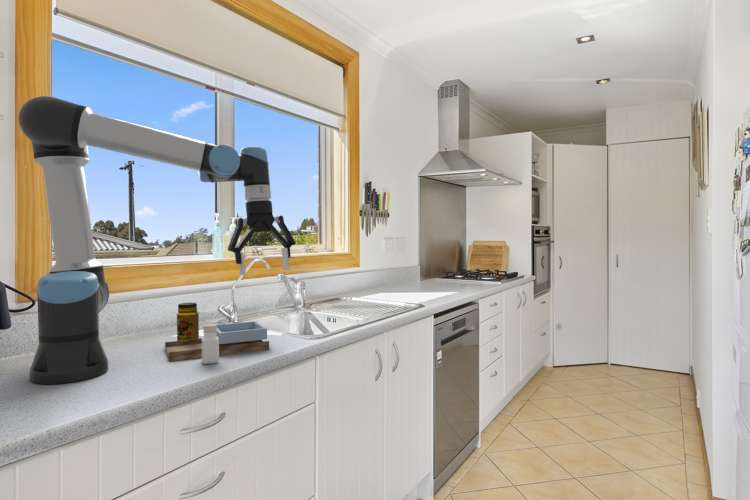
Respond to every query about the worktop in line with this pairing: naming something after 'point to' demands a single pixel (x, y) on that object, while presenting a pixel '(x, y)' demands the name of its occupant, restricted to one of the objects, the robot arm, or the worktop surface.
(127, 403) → the worktop surface
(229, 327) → the light blue tray
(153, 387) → the worktop surface
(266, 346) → the wooden cutting board
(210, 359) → the pepper shaker
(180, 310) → the condiment
